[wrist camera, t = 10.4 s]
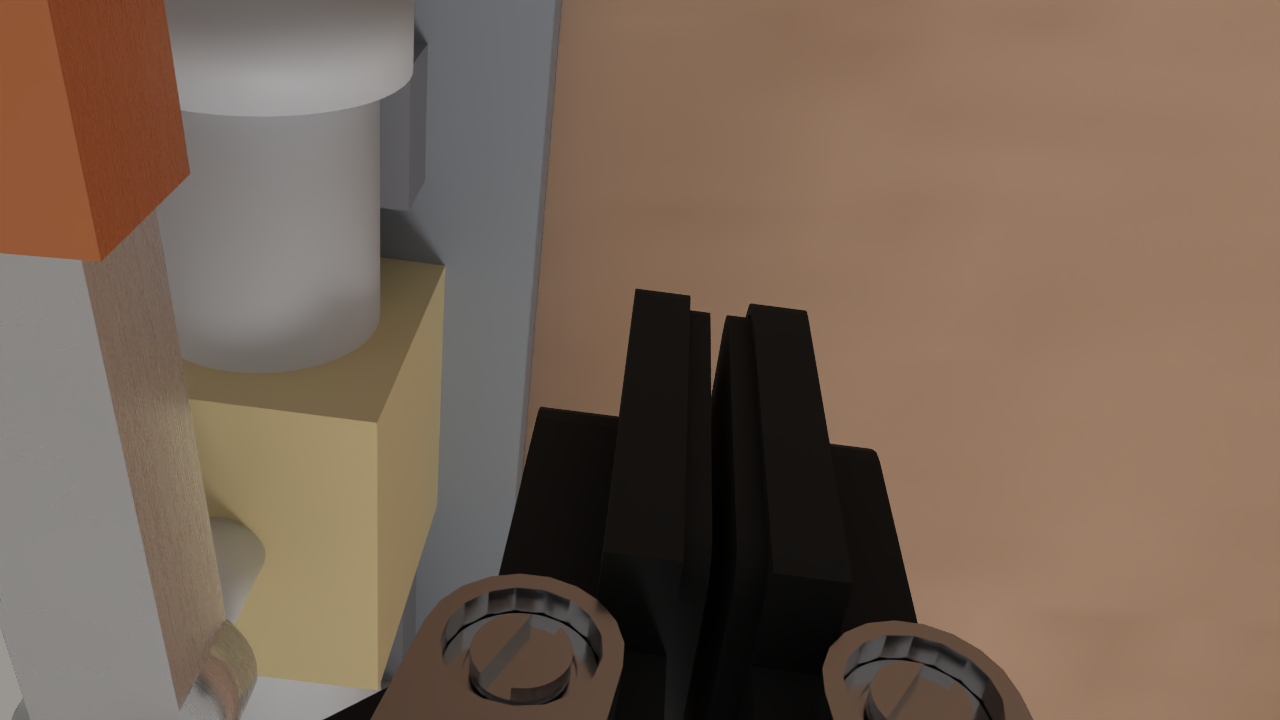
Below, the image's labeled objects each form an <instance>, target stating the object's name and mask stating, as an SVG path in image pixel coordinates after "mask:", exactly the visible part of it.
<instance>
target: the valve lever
mask: <svg viewBox="0 0 1280 720" xmlns="http://www.w3.org/2000/svg"><path fill="white" fill-rule="evenodd" d="M189 175H190V168H189V161H188V155H187V148H186V142H185V135H184V128H183V122H182V115H181V109H180V102H179V95H178V89H177V82H176V76H175V69H174V62H173V56H172V49H171V43H170V36H169V29H168V23H167V16H166V10H165V3H164V0H0V627H1V630H2V633H3V636H4V639H5V642H6V646H7V649H8V651H9V655H10V658H11V661H12V664H13V667H14V670H15V674H16V677H17V680H18V683H19V686H20V689H21V692H22V695H23V699H22V701H21V702H20V704H19V705H18V707H17V708H16V710H15V712H14V715H13V717H12V720H240V719H241V717H242V715H243V713H244V710H245V708H246V706H247V704H248V701H249V699H250V697H251V694H252V692H253V690H254V687H255V684H256V682H257V674H258V671H257V662H256V658H255V655H254V653H253V650H252V648H251V646H250V645H249V643H248V641H247V640H246V638H245V637H244V636H243V635H242V633H241V632H240V631H239V630H238V629H237V628H236V627H235V626H234V625H233V624H232V623H231V622H230V621H229V620H227V618H226V612H225V607H224V601H223V595H222V589H221V583H220V577H219V572H218V566H217V560H216V554H215V548H214V543H213V537H212V531H211V525H210V519H209V514H208V508H207V502H206V496H205V490H204V485H203V479H202V473H201V467H200V461H199V455H198V450H197V444H196V438H195V432H194V426H193V421H192V415H191V409H190V403H189V397H188V392H187V386H186V380H185V374H184V368H183V362H182V357H181V351H180V345H179V339H178V333H177V328H176V322H175V316H174V310H173V304H172V299H171V293H170V287H169V281H168V275H167V270H166V264H165V258H164V252H163V246H162V240H161V235H160V229H159V223H158V217H157V211H156V207H157V206H158V205H159V204H160V203H161V202H162V201H163V200H164V199H165V198H166V197H167V196H168V195H169V194H171V193H172V192H173V191H174V190H175V189H176V188H177V187H178V186H179V185H180V184H181V183H182V182H183V181H184V180H185V179H186V178H187V177H188V176H189Z"/></svg>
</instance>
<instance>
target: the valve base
mask: <svg viewBox="0 0 1280 720" xmlns="http://www.w3.org/2000/svg"><path fill="white" fill-rule="evenodd" d="M164 3H165V10H166V16H167V23H168V29H169V36H170V43H171V49H172V56H173V62H174V69H175V76H176V82H177V89H178V95H179V102H180V109H181V115H182V122H183V128H184V135H185V142H186V148H187V155H188V161H189V168H190V175H189V176H188V177H187V178H186V179H185V180H184V181H183V182H182V183H181V184H180V185H179V186H178V187H177V188H176V189H175V190H174V191H173V192H172V193H171V194H169V195H168V196H167V197H166V198H165V199H164V200H163V201H162V202H161V203H160V204H159V205H158V206H157V207H156V211H157V217H158V223H159V229H160V235H161V240H162V246H163V252H164V258H165V264H166V270H167V275H168V281H169V287H170V293H171V299H172V304H173V310H174V316H175V322H176V328H177V333H178V339H179V345H180V351H181V357H182V362H183V368H184V374H185V380H186V386H187V392H188V397H189V403H190V409H191V415H192V421H193V426H194V432H195V438H196V444H197V450H198V455H199V461H200V467H201V473H202V479H203V485H204V490H205V496H206V502H207V508H208V514H209V519H210V525H211V531H212V537H213V543H214V548H215V554H216V560H217V566H218V572H219V577H220V583H221V589H222V595H223V601H224V607H225V612H226V618H227V620H229V621H230V622H231V623H232V624H233V625H234V626H235V627H236V628H237V629H238V630H239V631H240V632H241V633H242V635H243V636H244V637H245V638H246V640H247V641H248V643H249V645H250V646H251V648H252V650H253V653H254V655H255V658H256V662H257V671H258V674H257V682H256V684H255V687H254V690H253V692H252V694H251V697H250V699H249V701H248V704H247V706H246V708H245V710H244V713H243V715H242V717H241V719H240V720H323V719H325V718H327V717H329V716H331V715H333V714H335V713H337V712H339V711H341V710H343V709H345V708H347V707H349V706H351V705H353V704H355V703H357V702H359V701H361V700H363V699H365V698H367V697H369V696H371V695H373V694H375V693H377V692H379V691H381V690H383V689H385V688H387V687H388V686H389V684H390V682H391V681H392V679H393V677H394V675H395V673H396V671H397V670H398V668H399V666H400V664H401V662H402V660H403V658H404V657H405V655H406V653H407V651H408V649H409V647H410V646H411V644H412V642H413V640H414V638H415V636H416V634H417V633H418V631H419V629H420V627H421V625H422V623H423V621H424V620H425V618H426V617H427V616H428V615H429V614H430V612H431V611H432V610H433V609H434V607H435V606H436V605H437V604H438V602H439V601H440V600H441V599H443V598H444V597H446V596H447V595H449V594H451V593H452V592H454V591H455V590H457V589H458V588H460V587H461V586H463V585H466V584H469V583H472V582H475V581H478V580H481V579H484V578H487V577H490V576H498V575H499V571H500V567H501V563H502V559H503V555H504V550H505V546H506V542H507V538H508V534H509V530H510V526H511V522H512V517H513V513H514V509H515V505H516V501H517V497H518V493H519V488H520V484H521V480H522V472H523V460H524V449H525V437H526V425H527V413H528V401H529V389H530V377H531V365H532V353H533V341H534V329H535V317H536V305H537V293H538V281H539V269H540V258H541V246H542V234H543V222H544V210H545V198H546V186H547V174H548V162H549V150H550V138H551V126H552V114H553V102H554V90H555V78H556V66H557V55H558V43H559V31H560V19H561V7H562V0H164Z"/></svg>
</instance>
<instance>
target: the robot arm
mask: <svg viewBox="0 0 1280 720" xmlns="http://www.w3.org/2000/svg"><path fill="white" fill-rule="evenodd" d="M323 720H1033V718H1032V716H1031V714H1030V712H1029V710H1028V708H1027V706H1026V704H1025V702H1024V700H1023V698H1022V696H1021V695H1020V693H1019V692H1018V690H1017V689H1016V687H1015V686H1014V684H1013V683H1012V682H1011V680H1010V679H1009V677H1008V676H1007V674H1006V673H1005V672H1004V670H1003V669H1001V668H1000V667H999V666H998V665H997V664H996V663H995V662H994V661H992V660H991V659H990V658H989V657H988V656H987V655H986V654H984V653H983V652H982V651H981V650H979V649H978V648H976V647H974V646H972V645H971V644H969V643H967V642H966V641H964V640H962V639H960V638H959V637H957V636H955V635H953V634H951V633H948V632H945V631H942V630H939V629H936V628H933V627H930V626H927V625H924V624H918V623H917V619H916V614H915V610H914V606H913V601H912V597H911V593H910V589H909V584H908V580H907V576H906V572H905V567H904V563H903V559H902V555H901V550H900V546H899V542H898V537H897V533H896V529H895V525H894V520H893V516H892V512H891V508H890V503H889V499H888V495H887V491H886V486H885V482H884V478H883V474H882V469H881V465H880V461H879V458H878V456H877V453H876V452H875V451H874V450H872V449H868V448H860V447H852V446H844V445H836V444H830V443H829V437H828V431H827V425H826V419H825V413H824V408H823V402H822V396H821V390H820V384H819V378H818V373H817V367H816V361H815V355H814V349H813V343H812V337H811V332H810V326H809V320H808V315H807V312H806V311H804V310H796V309H789V308H781V307H773V306H765V305H758V304H750V305H749V308H748V311H747V314H746V318H745V317H737V316H729V315H727V317H726V320H725V324H724V328H723V334H722V339H721V345H720V351H719V356H718V362H717V368H716V373H715V379H714V384H713V390H712V396H711V328H710V313H706V312H698V311H691V310H690V296H688V295H681V294H673V293H665V292H657V291H650V290H642V289H636V290H635V297H634V305H633V312H632V320H631V328H630V335H629V343H628V351H627V358H626V366H625V374H624V381H623V389H622V397H621V405H620V412H619V417H617V416H609V415H601V414H593V413H586V412H578V411H570V410H562V409H554V408H547V407H540V409H539V411H538V415H537V418H536V422H535V427H534V431H533V435H532V439H531V443H530V447H529V451H528V455H527V460H526V464H525V468H524V472H523V476H522V480H521V484H520V488H519V493H518V497H517V501H516V505H515V509H514V513H513V517H512V522H511V526H510V530H509V534H508V538H507V542H506V546H505V550H504V555H503V559H502V563H501V567H500V571H499V575H498V576H490V577H487V578H484V579H481V580H478V581H475V582H472V583H469V584H466V585H463V586H461V587H460V588H458V589H457V590H455V591H454V592H452V593H451V594H449V595H447V596H446V597H444V598H443V599H441V600H440V601H439V602H438V604H437V605H436V606H435V607H434V609H433V610H432V611H431V612H430V614H429V615H428V616H427V617H426V618H425V620H424V621H423V623H422V625H421V627H420V629H419V631H418V633H417V634H416V636H415V638H414V640H413V642H412V644H411V646H410V647H409V649H408V651H407V653H406V655H405V657H404V658H403V660H402V662H401V664H400V666H399V668H398V670H397V671H396V673H395V675H394V677H393V679H392V681H391V682H390V684H389V686H388V687H387V688H385V689H383V690H381V691H379V692H377V693H375V694H373V695H371V696H369V697H367V698H365V699H363V700H361V701H359V702H357V703H355V704H353V705H351V706H349V707H347V708H345V709H343V710H341V711H339V712H337V713H335V714H333V715H331V716H329V717H327V718H325V719H323Z"/></svg>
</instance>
